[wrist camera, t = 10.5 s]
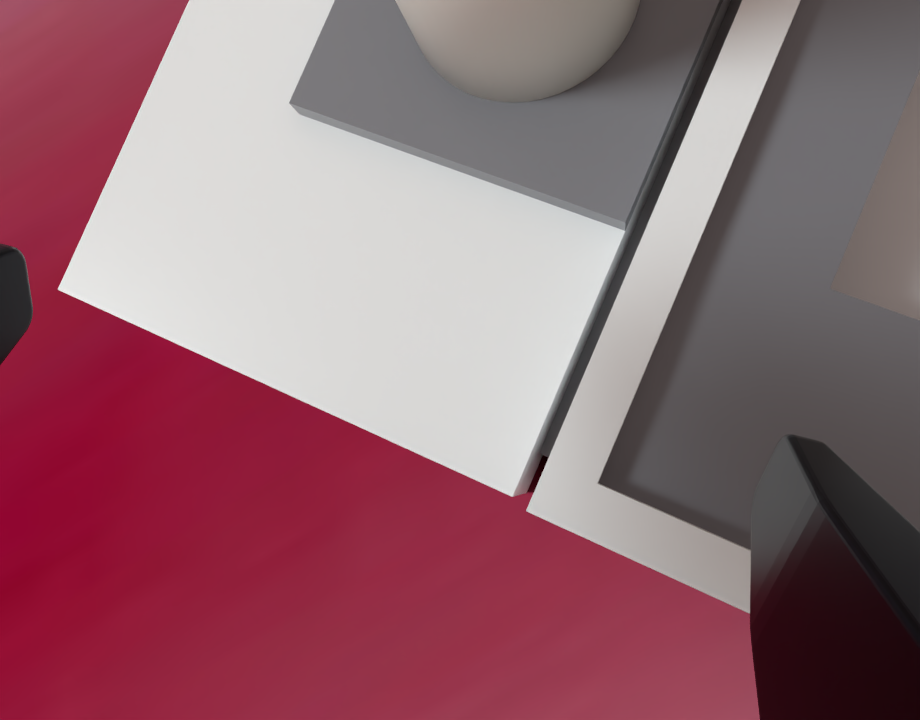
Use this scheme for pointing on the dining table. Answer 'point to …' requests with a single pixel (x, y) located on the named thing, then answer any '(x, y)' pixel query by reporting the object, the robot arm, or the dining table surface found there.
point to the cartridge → (518, 42)
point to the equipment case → (549, 252)
